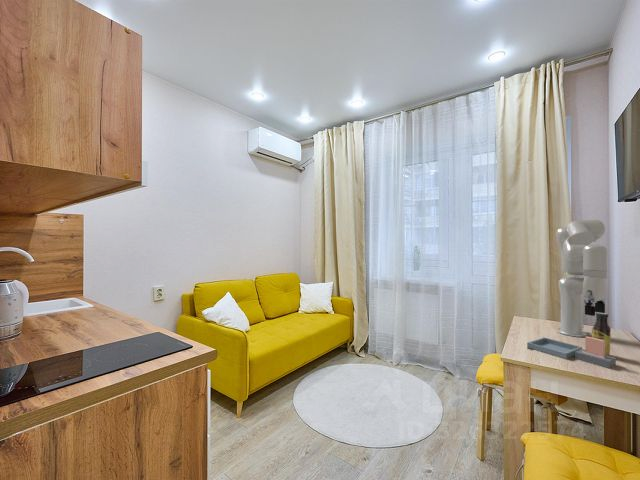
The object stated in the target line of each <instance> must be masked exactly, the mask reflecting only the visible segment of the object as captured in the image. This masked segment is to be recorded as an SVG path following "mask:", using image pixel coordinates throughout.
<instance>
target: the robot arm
mask: <svg viewBox="0 0 640 480" xmlns="http://www.w3.org/2000/svg"><path fill="white" fill-rule="evenodd" d="M605 233H606V226H605V224H604V222H602V221H601V220H599V219H583V220H582V219H581V220H579V219H578V220H573V221H570V222H569V223H568V224H567V225H566V227H560V228H557V230H556V231H555V240H556V242H557V244H558V246H559V248H560V262H561V263H560V264H561V265H560V267H561V272H562V273H563V274H565V275H567V276H566V277H561V278H560V279H559V280H558V289H559V297H560V327H559V328H557V333H559V334H561V335H565V336H570V337H577V338H583V337H584V338H585V337H587V336H588V335H587V333H586V332H585V331H583V330H584V327H585V326H584V325H583V324H584V321H583V320H584V318H583V317H584V315H586V316H591V317H596V312H600V313H606V295H607V290H606V279H608V249H607V247H606V246H604V245H600V244H592V243H595V242H597V241H599V239H601V238H602V237H603V236H604V234H605ZM568 275H570V277H569V276H568ZM572 276H573V277H572ZM575 276H582V277H575ZM578 296H581V299H582V300H583V301H584V304H583V302H582V300H581V299H580V298H579V297H578ZM583 306H584V307H583Z"/></svg>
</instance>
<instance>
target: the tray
mask: <svg viewBox="0 0 640 480" xmlns="http://www.w3.org/2000/svg"><path fill="white" fill-rule="evenodd" d="M526 345H527V348H526V349H527V350H530V351H537V352H539V353H544V354H547V355H551V356H553V357H556V358H560V359H564V360H568V359H570V358H573V357H575V352H576V351H579V350H581V349H583V347H582V346H580V345H579V346H578V345H575V344H572V343H567V342H564V341H559V340H556V339H551V338H547V337H545V336H543V337H541V338H538V339H533V340H532V341H528V342H526Z"/></svg>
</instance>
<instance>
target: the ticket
mask: <svg viewBox="0 0 640 480" xmlns="http://www.w3.org/2000/svg"><path fill="white" fill-rule="evenodd" d="M584 343H585V344H584V350H585V352H586V353H590V354H594V355H597V356H601V357H605V340H600V339H596V338H592V336H588V335H587V336H585V337H584Z"/></svg>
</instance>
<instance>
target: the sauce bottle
mask: <svg viewBox="0 0 640 480" xmlns="http://www.w3.org/2000/svg"><path fill="white" fill-rule="evenodd" d="M595 318H596V319H595V322H594V324H593V326H592V328H591V337H592V338H596V339H600V340H605V355H607V356H610V354H611V341H612V340H611V332H612V331H611V327H610V326H609V324H608V318H609V313H607V312H605V313H600V312H595Z"/></svg>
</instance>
